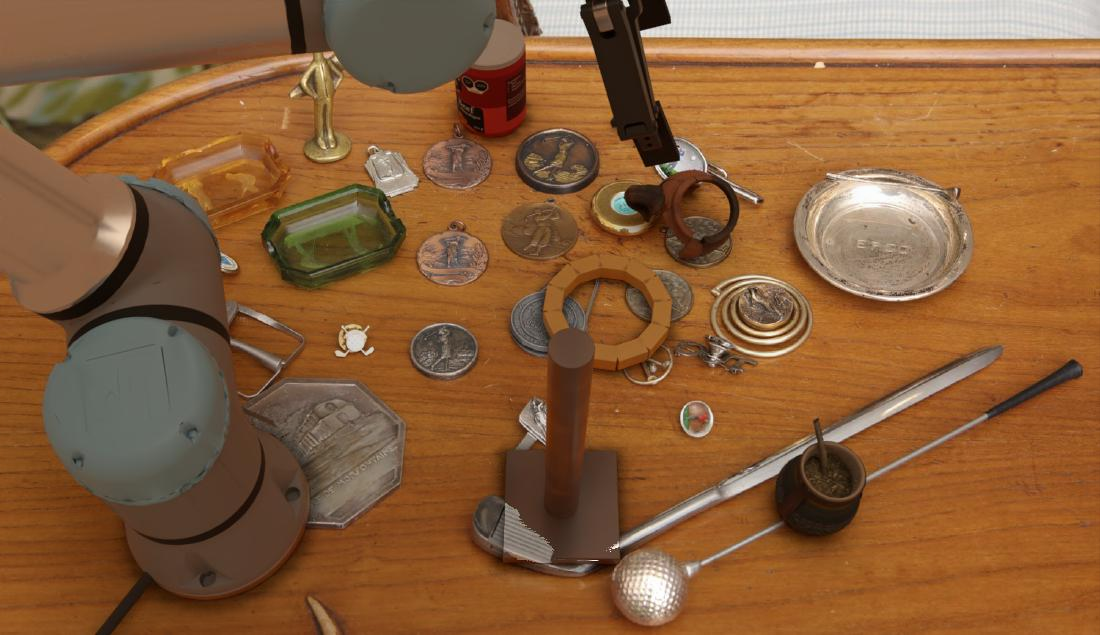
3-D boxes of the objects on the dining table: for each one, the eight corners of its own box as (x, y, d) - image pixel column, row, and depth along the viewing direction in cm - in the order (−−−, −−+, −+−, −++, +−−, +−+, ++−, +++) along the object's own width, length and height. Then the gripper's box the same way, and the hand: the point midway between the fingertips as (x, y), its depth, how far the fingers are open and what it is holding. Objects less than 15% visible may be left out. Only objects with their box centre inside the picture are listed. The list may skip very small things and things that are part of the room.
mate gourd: (802, 561, 79) (834, 520, 71) (749, 489, 83) (773, 443, 74) (866, 520, 81) (904, 476, 73) (811, 452, 85) (841, 403, 76)
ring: (620, 392, 88) (621, 383, 86) (518, 323, 92) (518, 313, 90) (693, 307, 93) (695, 297, 92) (594, 245, 97) (595, 234, 96)
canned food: (451, 99, 109) (443, 25, 99) (515, 86, 110) (513, 11, 101) (467, 145, 105) (460, 72, 95) (534, 131, 106) (534, 57, 97)
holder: (503, 563, 79) (488, 418, 55) (506, 455, 84) (495, 281, 61) (619, 564, 79) (654, 420, 55) (615, 457, 84) (646, 283, 61)
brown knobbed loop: (716, 187, 103) (750, 169, 95) (709, 270, 101) (743, 259, 94) (614, 170, 100) (641, 150, 92) (606, 255, 99) (633, 243, 91)
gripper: (641, 10, 48) (716, 215, 66) (627, -282, 59) (695, -39, 77) (509, 44, 50) (616, 232, 68) (519, -244, 61) (609, -16, 79)
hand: (658, 89), depth 73 cm, fingers open, 13 cm apart
